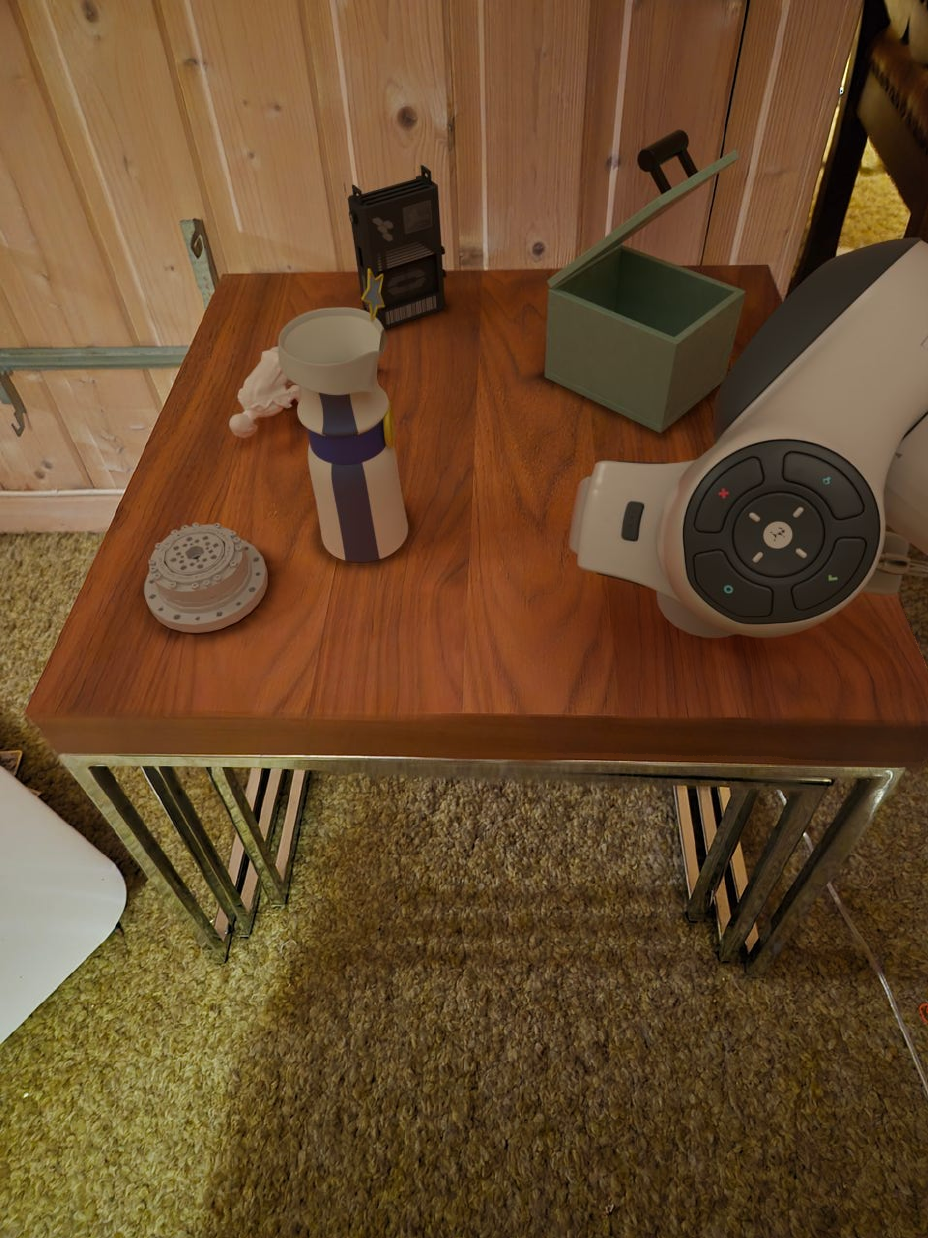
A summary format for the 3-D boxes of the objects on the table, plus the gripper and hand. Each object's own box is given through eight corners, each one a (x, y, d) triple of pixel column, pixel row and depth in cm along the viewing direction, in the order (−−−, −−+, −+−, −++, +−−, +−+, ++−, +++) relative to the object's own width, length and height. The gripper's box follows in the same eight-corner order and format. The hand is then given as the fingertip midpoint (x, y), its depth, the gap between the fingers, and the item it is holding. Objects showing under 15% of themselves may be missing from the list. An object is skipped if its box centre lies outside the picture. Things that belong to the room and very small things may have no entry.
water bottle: (413, 494, 77) (384, 222, 58) (412, 562, 72) (378, 286, 52) (324, 498, 77) (265, 227, 58) (316, 565, 72) (247, 292, 52)
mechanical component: (284, 607, 69) (249, 532, 75) (273, 571, 65) (237, 495, 71) (164, 652, 66) (138, 571, 72) (146, 617, 63) (120, 534, 69)
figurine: (322, 396, 94) (204, 430, 80) (328, 323, 90) (204, 346, 76) (373, 415, 92) (260, 453, 78) (381, 341, 88) (263, 368, 74)
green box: (725, 379, 86) (746, 290, 79) (660, 433, 81) (676, 344, 74) (610, 329, 93) (620, 243, 86) (544, 376, 88) (548, 289, 80)
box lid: (740, 157, 72) (713, 104, 71) (662, 206, 67) (633, 149, 66) (622, 242, 85) (598, 199, 84) (550, 288, 80) (524, 242, 79)
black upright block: (434, 288, 100) (425, 155, 88) (453, 305, 98) (446, 170, 86) (356, 315, 97) (335, 180, 85) (373, 333, 94) (355, 197, 83)
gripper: (955, 511, 44) (886, 520, 57) (569, 455, 48) (589, 475, 61) (928, 629, 44) (865, 610, 58) (550, 564, 49) (573, 560, 62)
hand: (720, 540), depth 60 cm, fingers closed on can, 7 cm apart
